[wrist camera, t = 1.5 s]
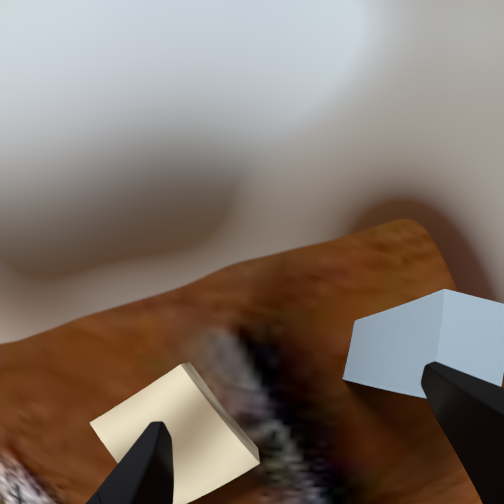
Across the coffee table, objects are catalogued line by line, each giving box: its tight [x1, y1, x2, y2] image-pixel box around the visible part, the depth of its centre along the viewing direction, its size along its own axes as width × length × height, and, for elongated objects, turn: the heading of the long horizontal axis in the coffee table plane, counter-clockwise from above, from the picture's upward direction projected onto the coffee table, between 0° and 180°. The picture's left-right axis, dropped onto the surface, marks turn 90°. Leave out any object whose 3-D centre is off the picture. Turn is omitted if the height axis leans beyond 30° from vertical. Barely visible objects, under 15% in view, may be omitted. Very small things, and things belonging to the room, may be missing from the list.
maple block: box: [90, 363, 260, 504], centre depth 20 cm, size 9×9×4 cm
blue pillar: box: [343, 289, 504, 398], centre depth 17 cm, size 5×5×13 cm
